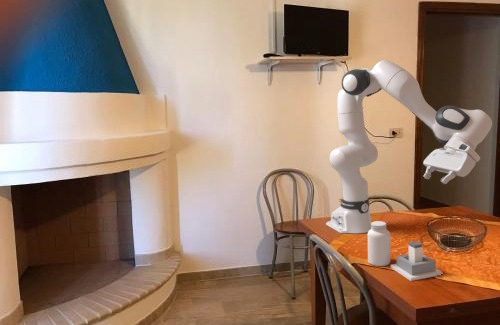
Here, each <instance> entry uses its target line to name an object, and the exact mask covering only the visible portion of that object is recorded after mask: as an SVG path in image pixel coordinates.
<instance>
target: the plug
mask: <svg viewBox="0 0 500 325" xmlns="http://www.w3.org/2000/svg"><path fill="white" fill-rule="evenodd" d="M407 247H408V254H409V261H410V262H412V263H417V262H423V255H424V254H423V253H424V252H423V243H421V242H419V241H417V240H414V241H409V242H408V246H407Z"/></svg>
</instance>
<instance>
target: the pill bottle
mask: <svg viewBox="0 0 500 325" xmlns="http://www.w3.org/2000/svg"><path fill="white" fill-rule="evenodd" d="M371 222H372V223H371V229H370V230H369V231H368V232H367V261H368V264H370V265H372V266H376V267H386V266H388V264H389V265H391V261H392V260H391V256H392V255H391V232H390V231H389V230H388V229H387V223H386V222H385V221H383V220H382V221H381V220H380V221H379V220H376V221H375V220H374V221H371Z"/></svg>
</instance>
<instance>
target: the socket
mask: <svg viewBox="0 0 500 325" xmlns="http://www.w3.org/2000/svg"><path fill="white" fill-rule="evenodd" d="M436 266H437V265H436V260H434V259H432V257H431V258H430V257H429V256H427V255H425V254H423V262H417V263H412V262H410V261H409V253H408V254H401V255H396V263H392V264H390V268H391V269H392V270H393V271H395V272H396V273H399V274H400V275H401V276H402V277H404V278H406V279H407V280H409V281H410V282H413V281H418V280H423V279H427V278H433V277H438V276H437V275H439V274H443V271H442V270H440V269H439V268H436ZM443 275H444V274H443Z"/></svg>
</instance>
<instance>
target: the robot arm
mask: <svg viewBox="0 0 500 325" xmlns="http://www.w3.org/2000/svg"><path fill="white" fill-rule="evenodd" d="M341 87H342V89H340V90H339V91H338V93H337V98H336V99H337V100H336V107H337V108H336V112H337V113H336V114H337V122H338V123H337V125H338V131H339V133H340V134H341V135H342V136H344V137H345V139H346V141H347V144H346V145H340V146H338V147H336V148H334V149H332V150H331V152H330V153H329V157H328V160H329V164H330V166H331V167H332V168H333V170H335V171H336V172H337V173H338V175H339V178H340V181H341V187H342V198H339V199H338V200H339V202H340V206H338V207H337V208H336V209H334V210H333V211H332V212H331V214H330V215H331V216H330V220H328V221H327V222H326V223H325V225H326V226H328V227H329V228H331V229H333V230H335V231H336V232H337V233H340V234H365V233H368V231H369V230H370V229H371V223H372V222H373V221H372V217H371V216H372V214H371V210H370V198H369V190H368V189H369V186H368V185H369V183H368V181H367V179H366V178H365V177H363V176H362V174H361V171H360V168H363V167H368V166H369V165H371V164H373V163H375V162H376V161H377V159H378V157H379V151H378V148H377V146H376V145H375V144H374V143H373V142H372V141H371V140H370V138H369V136H368V133H367V130H366V127H365V119H364V118H365V117H364V108H363V102H364V101H363V100H364V98H365V97H368V98H369V97H371V96H373V95H374V94H377V93H379V92H380V91H381V90H383V92H385V93H386V94H388V95H389V96H390V97H392V98H393V99H395V100H396V101H397V102H398V103H400V104H401V105H402V106H404V107H405V108H406V109H407V110H409V111H410V112H411V113H412V114H413V115H414V116H415V117H416V118H418V119H419V120H420V121H421V122H422V123H423V124H425V125H426V126H427V127H428V128H429V129H430V130H431V132H432V133H433V136H434V137H435V139H436V140H437V141H438V142H439V143H441V144H443V147H439V148H435V149H434V150H433V151H432V152H430V153H429V154H428V155H427V156H426V158H425V159H424V160H423V165H424V166H425V167H426V170H425V173H424V175H423V177H424V179H426V180H430V179H431V177H432V173H433V172H435V171H436V172H440V173H444V174H445V173H446V175H445V176H442V178H441V179H440V182H441V184H443V185H446V184H448V183H449V182H450V181H451V180H453V179H455V177H457V176H458V177H462V178H465V177H466V176H468V175H469V174H470V173H471V172H472V170H473V169H474V167H475V166H476V163H478V162H480V160H481V157H480V155H479V154H478V153H477V152H476V151H475V150H476V149H477V146H478V145H479V144H481V142H483V140H484V139H486V137H487V135H488V134H489V132H490V131H491V128H492V126H493V121H492V118H491V117H490V115H489V114H488V113H487V112H486V111H485V110H484V111H483V110H482V109H464V108H459V107H457V106H456V105H444V106H442V107H440V108H439V109H438V110H437V111H436V109H434V108H433V107H432V106H431V105H430V104H428V102H427V101H426V100H425V98H424V95H423V93H422V91H421V87H420V84H419V82H418V80H417V78H415V76H414V74H411V72H410V71H408V70H406V69H405V68H403V67H402V66H400V65H398V64H396V63H394V62H392V61H390V60H387V59H383V60H380V61H378V62H377V63H376V64H375V65H374V66H373V68H367V67H365V68H364V67H363V68H355V69H351V70H349V71H347V72H345V74H343V76H342V79H341Z"/></svg>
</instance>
